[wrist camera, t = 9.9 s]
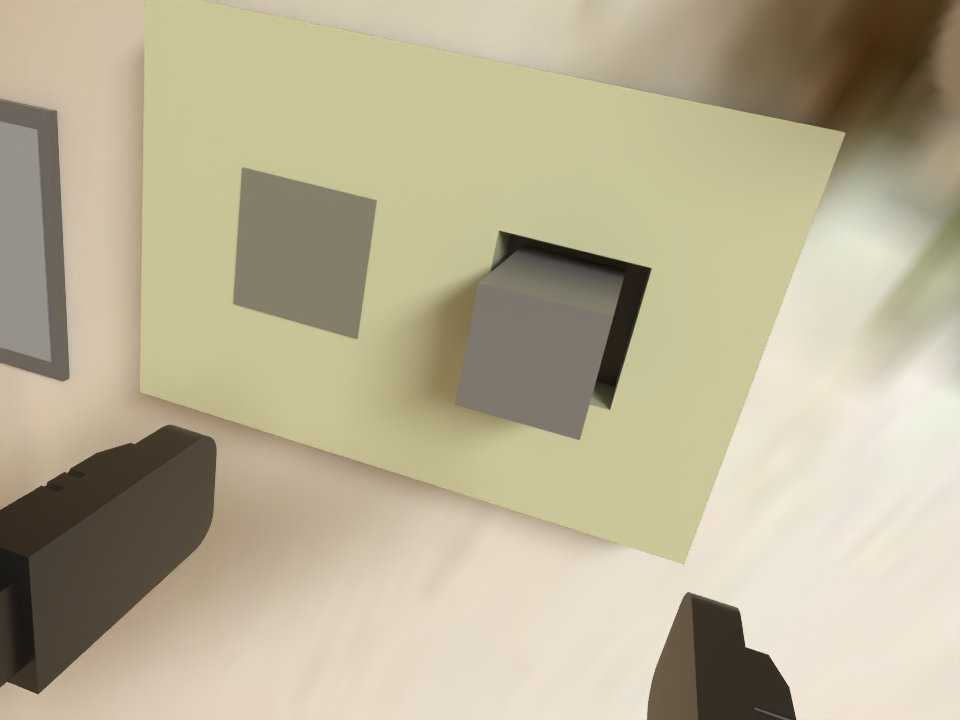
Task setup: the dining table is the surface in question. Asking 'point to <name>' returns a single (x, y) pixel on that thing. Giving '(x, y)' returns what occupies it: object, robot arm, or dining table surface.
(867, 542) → the dining table surface
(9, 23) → the dining table surface
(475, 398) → the block
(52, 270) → the phone
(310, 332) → the outlet plate
